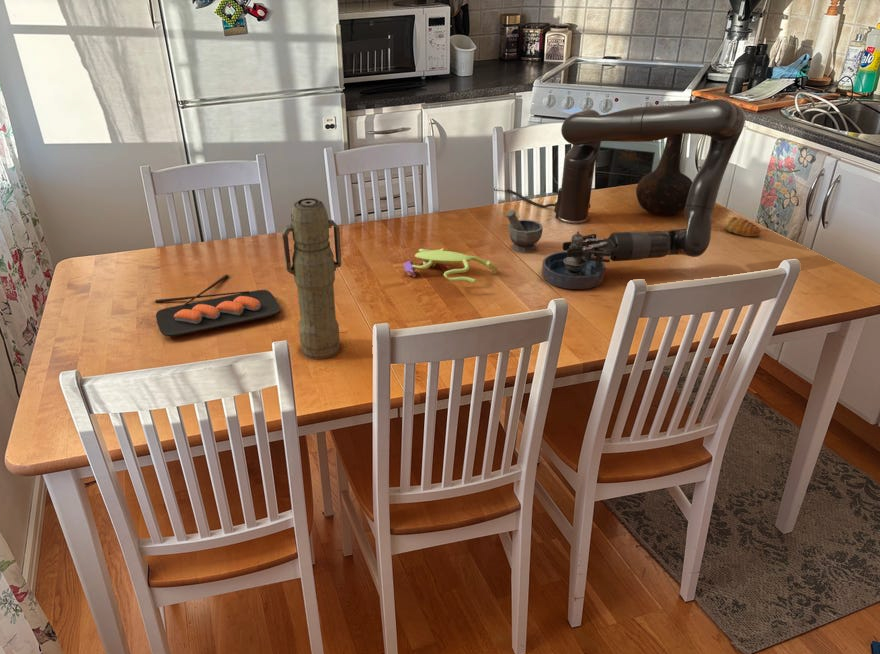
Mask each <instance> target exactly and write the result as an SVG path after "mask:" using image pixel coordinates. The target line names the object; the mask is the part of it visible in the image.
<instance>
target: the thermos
mask: <svg viewBox="0 0 880 654" xmlns="http://www.w3.org/2000/svg"><path fill="white" fill-rule="evenodd" d="M290 217H291V218H290V224H287V225H285V227H284V229H282V232H281V237H282V245H283V252H284V254H283V255H284V263H285V264H284V265H285V270H286V271H287V273H289V274H290V275H293V281H294V283H295V285H296V289H297V299H298V308H299V322H298V333H299V342H300V344H301V353H302V354H303V356H304V357H306V358H308V359H312V360H324V359H329V358H332V357H335V356H336V355H337V354H338V353H339V351H340V348H341V347H340V339H341V338H340V326H339V322H338V320H337V315H336V303H335V289H334V287H335V286H334V283H335V281H336V272H337V269H338V268H340V267H342V252H341V251H342V247H341V233H340V232H341V231H340V227H339V225H338V224H337V223H336V222H335V220H333V219H329V214H328V211H327V208H326V206H325V204H324V202H323V201H322V200H320V199H318V198H314V197H305V198H301V199H299V200H297V201H295V202H294V203H293V206H292V209H291V214H290ZM332 227H333V237H334V238H333V239H334V252H333V251H332V248H331V242H330V240H329V239H330V229H332ZM291 232H292V240H293V242H294V243H293V253H292V258H291V252H290V242H289V234H290V233H291ZM334 253H335V255H334ZM334 256H335V257H334Z"/></svg>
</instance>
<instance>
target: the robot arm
mask: <svg viewBox="0 0 880 654" xmlns="http://www.w3.org/2000/svg"><path fill="white" fill-rule="evenodd" d="M745 124H746V113H745V111H744V109H743V108H742V107H741V106H740V105H738V104H736V103H734V102H731V101H730V100H728V99H724V98H715V99H714V98H713V99H709V100H704V101H699V102H693V103H689V104H682V105H679V104H678V105H672V104H668V105H667V104H665V105H648V106H646V105H645V106H637V107H631V108H627V109H626V108H625V109H622V110H621V109H620V110H618V111H614V112H610V113H606V114H600V112H598V111H597V110H594V109H584V110H582V111H578V112H574V113H573V114H570V115H569V116H567V117H566V118H565V119H564V121H563V123H562V125H561V129H560V132H561V136H562V138H563V139H564V140H565V141H566V142H567V143H568V144H570V145H572V146H571V147H570V149H569V150H568V152H567V153H566V154H565V156H564V159H563V167H562V168H563V169H562V177H561V187H559V188H558V189H557V190H558V191H557V199H556V201H555V202H554V203H547V204H540V203H537V202H535V201H533V200H530V199H528V198H526V197H525V196H523V195H521V194H520V193H519V192H517V191H514V190H511V189H509V188H507V189H508V190H505V191H506V192H509V193H510V194H513V195H515V196H516V197H519V198H520V199H522V200H523V201H525V202H527V203H529V204H532V205H533V206H536V207H538V208H545V209H546V208H548V207H554V208H553V209H554V211H553V213H554V214H555V219H558V220H559V221H561V222H562V223H566V224H577V225H578V224H583V223H586V222H588V220H589V211H590V209H591V195H592V188H593V182H594V181H593V180H594V174H595V173H594V172H595V165H596V162H597V159H598V157H599V154H600V150H601V144H602V142H617V143H624V142H625V143H626V142H628V143H631V142H632V143H638V142H639V143H641V142H642V143H643V142H644V143H645V142H656V141H661V140H664V139H667V137H670V136H673V135H676V134H683V135H684V134H685V135H702V136H707V137H710V140H709V147H708V151H707V154H706V157H705V159H704V160H703V161H704V162H703V164H702V165H701V167H700V168H699V170H698V171H697V173H696V175H695V177H694V179H693V180H692V182H693V183H692V185H691V187H690V190H689V194H688V198H687V201H686V205H685V209H684V210H683V215H684V217H685V218H686V220H687V221H686V228H675V229H670V230H664V231H663V230H662V231H661V230H653V231H640V230H639V231H638V230H636V231H618V232H617V231H616V232H612V233H610V234H609V236H608V237H607V238H605V237H604V238H603V237H597V234H596V233H591V234H587V235H582V236H583V242H582V247H583V249H582V248H569V246H571V241H564V242H563V243H562V250H563V252H567V256H568V257H581V256H582V258H586V260H588V261H598V262H603V263H610V262H627V261H628V262H629V261H639V260H644V259H645V260H647V259H659V258H665V257H667V256H679V255H680V256H686V257H689V258H690V257H691V258H698V257H701V256H702V255H704V253H705V252H707V250H708V247H709V245H710V243H711V236H712V217H713V212H714V210H715V205H716V201H717V198H718V194H719V190H720V187H721V184H722V182H723V179H724V175H725V173H726V169H727V167H728V165H729V163H730V160H731V158H732V155H733V152H734V150H735V148H736V146H737V143H738V141H739V139H740V137H741V135H742V132H743V130H744V127H745ZM493 191H496V190H495V188H493Z"/></svg>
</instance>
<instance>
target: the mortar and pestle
mask: <svg viewBox="0 0 880 654" xmlns="http://www.w3.org/2000/svg"><path fill="white" fill-rule="evenodd" d="M505 217H506V218H507V219H508V222H509V223H508V234H509V239H510V241H511V242H512V243H513V246H512V247H513V250H514V251H516V252H519V253H530V252H531V253H532V252H533V251H535V249H536V248H535V245H536V244H537V243H538V242H539V241H540V240H541V238H542V236H543V231H544V230H543V228H544V227H543V224H542V223H540V222H538V221H536V220H530V219H519V218H518V216H517V215H516V211H515V210H514V209H511V210H508V211H507V212H506V213H505Z"/></svg>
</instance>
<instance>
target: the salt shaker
mask: <svg viewBox="0 0 880 654" xmlns="http://www.w3.org/2000/svg"><path fill="white" fill-rule="evenodd" d="M583 236H584V235H582V234H580V232H579V231H576V233H574V234H573V235H571V239H570V242H571V246H569V248H582V249H583V247H584V246H583V247H582V242H583ZM563 261H564V264H565V267H566V268H567V269H566V270H564V272H563V273H564V275H568V276H582V275H583V272H582V271H581V269H582V268H583V267H584V264H585V263H586V260H585V259H583V258H582V257H566V258H565V259H564V260H563Z"/></svg>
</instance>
